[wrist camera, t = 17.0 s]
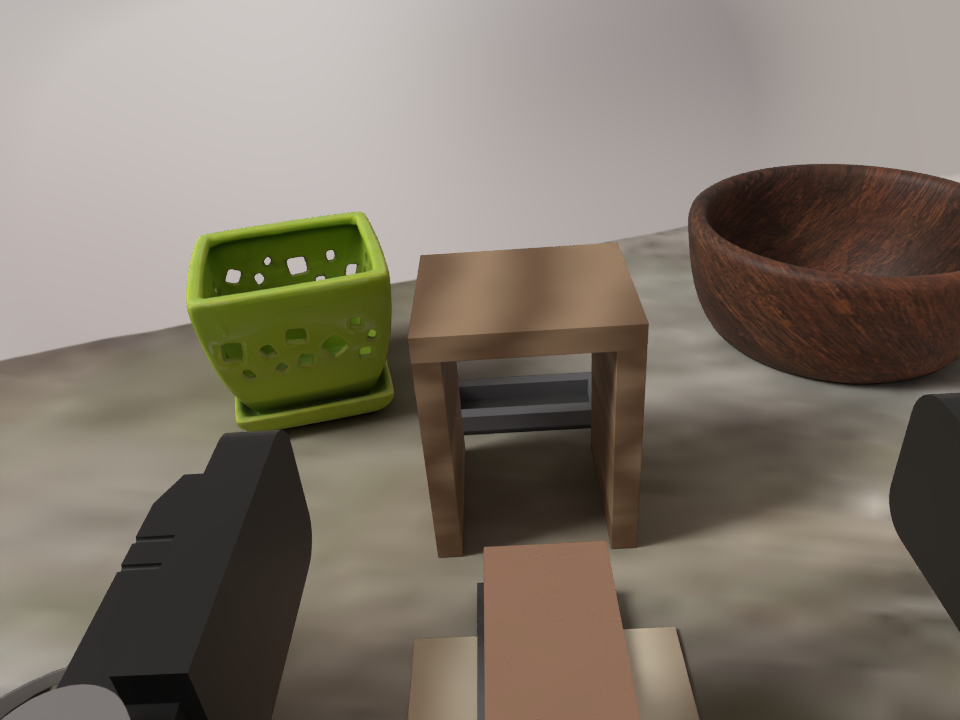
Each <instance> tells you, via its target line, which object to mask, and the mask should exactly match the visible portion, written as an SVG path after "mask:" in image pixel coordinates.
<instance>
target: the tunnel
mask: <svg viewBox="0 0 960 720" xmlns="http://www.w3.org/2000/svg"><path fill="white" fill-rule="evenodd" d="M648 326H649V323H648V321H647V318H646V316H645V313H644V310H643V308H642V305H641V303H640V300H639V297H638V295H637V292H636V289H635V287H634V284H633V282H632V279H631V276H630V274H629V271H628V269H627V266H626V263H625V261H624V258H623V255H622V253H621V250H620V248H619V245H618V243H603V244H588V245H573V246H558V247H543V248H528V249H512V250H496V251H482V252H468V253H467V252H466V253H451V254H435V255H421V256H420V263H419V269H418V275H417V282H416V288H415V294H414V301H413V307H412V313H411V320H410V326H409V332H408V345H409V353H410V360H411V367H412V374H413V381H414V388H415V395H416V402H417V409H418V416H419V423H420V431H421V438H422V445H423V452H424V459H425V466H426V473H427V480H428V487H429V494H430V501H431V509H432V516H433V523H434V530H435V537H436V544H437V551H438V557H456V556H463V533H464V492H465V442H464V433H463V423H462V413H461V404H460V394H459V384H458V375H457V365H456V361H466V360H482V359H499V358H516V357H532V356H549V355H565V354H582V353H592V385H591V447H592V452H593V458H594V463H595V468H596V473H597V478H598V483H599V488H600V493H601V498H602V503H603V508H604V513H605V518H606V523H607V528H608V533H609V538H610V543H611V548H612V549H614V548H633V547H637V529H638V511H639V492H640V474H641V455H642V437H643V418H644V400H645V381H646V363H647V344H648Z"/></svg>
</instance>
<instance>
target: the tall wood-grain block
mask: <svg viewBox="0 0 960 720" xmlns="http://www.w3.org/2000/svg"><path fill="white" fill-rule="evenodd" d="M477 720H640V715H639V710H638V704H637V699H636V694H635V689H634V684H633V678H632V673H631V668H630V663H629V658H628V652H627V647H626V642H625V637H624V632H623V626H622V621H621V616H620V611H619V605H618V600H617V595H616V590H615V585H614V579H613V574H612V569H611V564H610V559H609V553H608V548H607V543H606V541H593V542H573V543H553V544H534V545H514V546H495V547H484V583H477Z"/></svg>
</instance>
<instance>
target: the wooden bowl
mask: <svg viewBox="0 0 960 720" xmlns="http://www.w3.org/2000/svg"><path fill="white" fill-rule="evenodd" d="M688 233H689V248H690V259H691V268H692V274H693V279H694V285H695V288H696V292H697V295H698V298H699V301H700V303H701V305H702V308H703V310H704V312H705V314H706V316H707V317H708V319H709V321H710V322H711V324H712V325H713V327H714V328H715V330H716V331H717V332H718V333H719V335H721V336H722V337H723V338H724V339H725V340H726V341H727V342H728V343H730V344H731V345H732V346H733V347H735V348H736V349H737V350H739V351H740V352H742V353H743V354H745V355H747V356H749V357H750V358H752V359H754V360H756V361H758V362H760V363H763V364H765V365H768V366H770V367H773V368H775V369H778V370H781V371H784V372H788V373H791V374H795V375H798V376H803V377H807V378H812V379H818V380H823V381H831V382H840V383H856V384H873V383H888V382H896V381H902V380H907V379H912V378H915V377H919V376H922V375H925V374H928V373H931V372H934V371H936V370H939V369H941V368H943V367H944V366H946V365H948V364H949V363H951V362H952V361H954V360H955V359H957V358H958V357H960V183H958V182H955V181H952V180H948V179H944V178H940V177H936V176H931V175H927V174H922V173H916V172H912V171H906V170H899V169H892V168H884V167H875V166H864V165H846V164H809V165H808V164H807V165H791V166H781V167H773V168H766V169H760V170H755V171H751V172H747V173H742V174H739V175H736V176H732V177H730V178H727V179H724V180H722V181H720V182H718V183H716V184H714V185H712V186H710V187H709V188H707V189H706V190H704V191H703V192H702V193H700V194H699V195H698V196H697V197H696V199H695V200H694V202H693V203H692V206H691V209H690V212H689V217H688Z"/></svg>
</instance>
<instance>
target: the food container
mask: <svg viewBox="0 0 960 720" xmlns="http://www.w3.org/2000/svg"><path fill="white" fill-rule="evenodd" d="M66 669H67V667H66V668H63V669H60V670H57V671H54V672H51V673H49V674H46V675H44V676H42V677H39V678H37V679H35V680H33V681H30V682H28V683H26V684H24V685H22V686H21V687H19V688H17V689H15V690H13V691H11V692H10V693H8V694H6V695H4V696H2V697H1V698H0V720H2V719H3V718H4V717H5V716H7V715H8V714H9V713H11V712H12V711H13V710H15V709H16V708H18V707H19V706H21V705H22V704H24V703H26V702H27V701H29V700H31V699H33V698H35V697H37V696H39V695H41V694H43V693H46V692H49V691H52V690H54V689H56V687H57V686H58V684H59V682H60V681H61V679H62V677H63V675H64V673H65V671H66Z"/></svg>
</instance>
